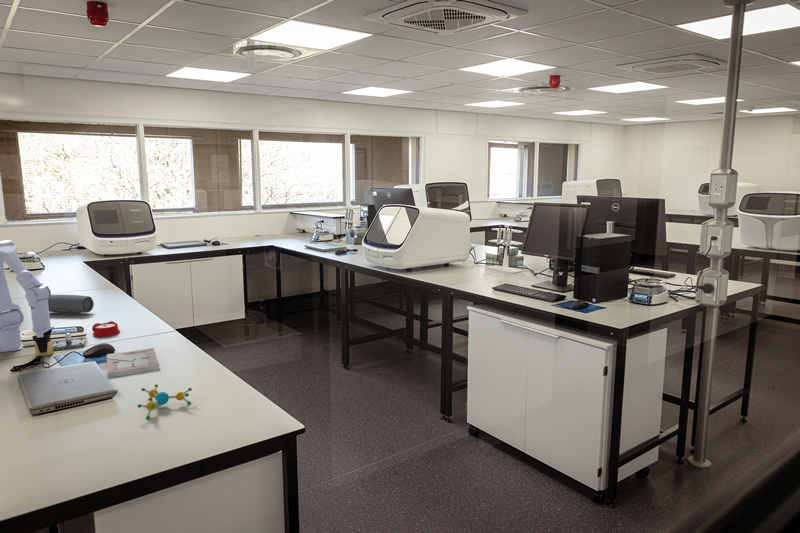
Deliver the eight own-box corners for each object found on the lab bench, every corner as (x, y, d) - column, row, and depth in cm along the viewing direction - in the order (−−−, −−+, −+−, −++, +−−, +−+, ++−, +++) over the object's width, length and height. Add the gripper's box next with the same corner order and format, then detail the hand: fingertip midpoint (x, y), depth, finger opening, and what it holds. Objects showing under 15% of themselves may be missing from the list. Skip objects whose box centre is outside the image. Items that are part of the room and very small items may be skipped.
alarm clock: (94, 331, 220) (89, 316, 231) (95, 344, 222) (89, 329, 233) (121, 327, 227) (114, 313, 237) (122, 339, 229) (115, 325, 239)
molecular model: (198, 404, 159) (174, 391, 168) (197, 389, 158) (173, 377, 167) (144, 423, 146) (122, 408, 156) (143, 407, 145) (120, 393, 155)
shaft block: (52, 350, 206) (50, 337, 205) (54, 344, 213) (52, 332, 212) (84, 346, 211) (82, 333, 210) (85, 341, 218) (83, 328, 217)
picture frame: (107, 360, 197) (107, 379, 179) (106, 354, 197) (107, 372, 179) (154, 353, 206) (159, 370, 187) (153, 347, 205) (159, 364, 187)
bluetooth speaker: (95, 312, 265) (93, 293, 263) (82, 317, 256) (80, 297, 254) (54, 310, 267) (52, 292, 266) (40, 315, 258) (38, 296, 256)
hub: (35, 356, 198) (33, 344, 198) (37, 352, 203) (35, 340, 202) (52, 354, 201) (51, 342, 200) (54, 350, 206) (52, 338, 205)
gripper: (50, 320, 195) (54, 354, 198) (54, 311, 208) (58, 343, 210) (28, 322, 192) (32, 356, 194) (33, 313, 204) (37, 345, 207)
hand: (44, 350), depth 202 cm, fingers closed on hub, 6 cm apart
